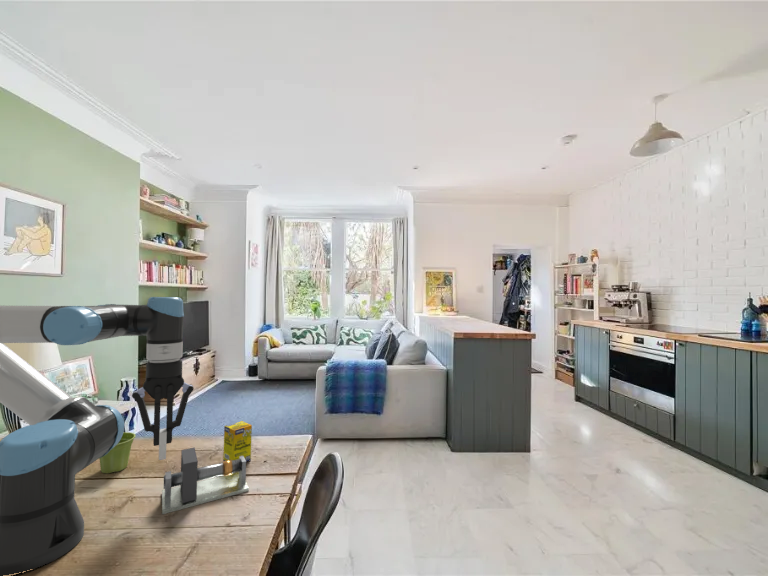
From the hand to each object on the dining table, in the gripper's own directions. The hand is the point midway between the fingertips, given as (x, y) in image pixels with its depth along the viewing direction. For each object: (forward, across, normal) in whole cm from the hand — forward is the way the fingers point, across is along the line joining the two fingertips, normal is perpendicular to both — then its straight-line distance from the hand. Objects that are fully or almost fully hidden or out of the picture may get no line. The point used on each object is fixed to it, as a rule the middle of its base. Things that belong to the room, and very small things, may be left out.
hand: (162, 457), depth 85 cm
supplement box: (+12, +20, +14) cm, 27 cm away
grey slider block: (+10, +6, 0) cm, 12 cm away
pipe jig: (+11, +10, 0) cm, 15 cm away
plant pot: (+11, -11, +27) cm, 31 cm away
